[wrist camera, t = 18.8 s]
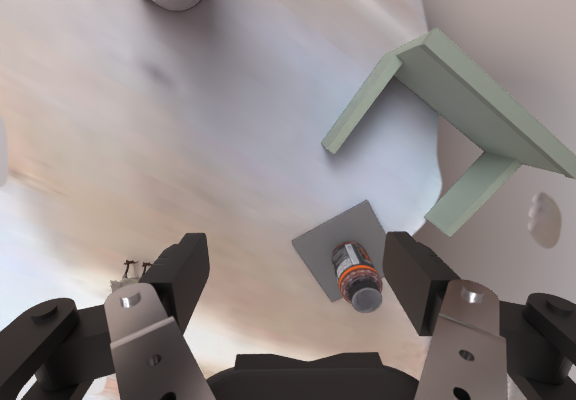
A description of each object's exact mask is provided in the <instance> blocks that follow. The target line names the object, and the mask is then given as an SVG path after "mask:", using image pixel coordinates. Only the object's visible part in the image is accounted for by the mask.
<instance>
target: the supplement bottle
mask: <svg viewBox="0 0 576 400" xmlns="http://www.w3.org/2000/svg"><path fill="white" fill-rule="evenodd" d="M331 260H332V265H333V268H334V272H335V275H336V279H337V282H338V285H339V289H340V292H341V294H342V296H343V297H344V299H345V300H346V301H348V302H349V303H351V304H352V306H353V307H354V309H356V310H357V311H359V312H362V313H369V312H373V311H375V310H376V309H377V308H379V306H380V305H381V303H382V295H381V291H382V286H383V285H382V280H381V278H380V276H379V274H378V272H377V270H376V268H375V267H374V265H373V263H372V261H371V259H370V258H369V256H368V254H367V252H366V250H365V249H364V248H363V247H362V246H361V245H360V244H358V243H356V242H344V243H341V244H340V245H338V246H337V247H336V248H335V249H334V251H333V253H332V257H331Z"/></svg>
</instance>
